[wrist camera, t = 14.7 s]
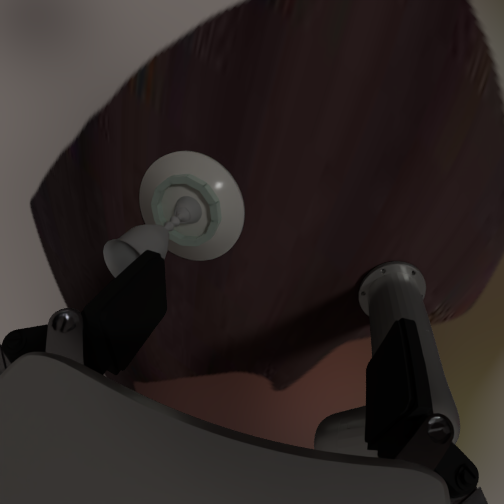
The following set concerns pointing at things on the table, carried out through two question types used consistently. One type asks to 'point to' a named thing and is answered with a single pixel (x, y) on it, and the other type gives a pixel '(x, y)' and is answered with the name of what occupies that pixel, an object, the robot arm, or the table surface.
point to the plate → (207, 195)
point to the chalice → (149, 237)
